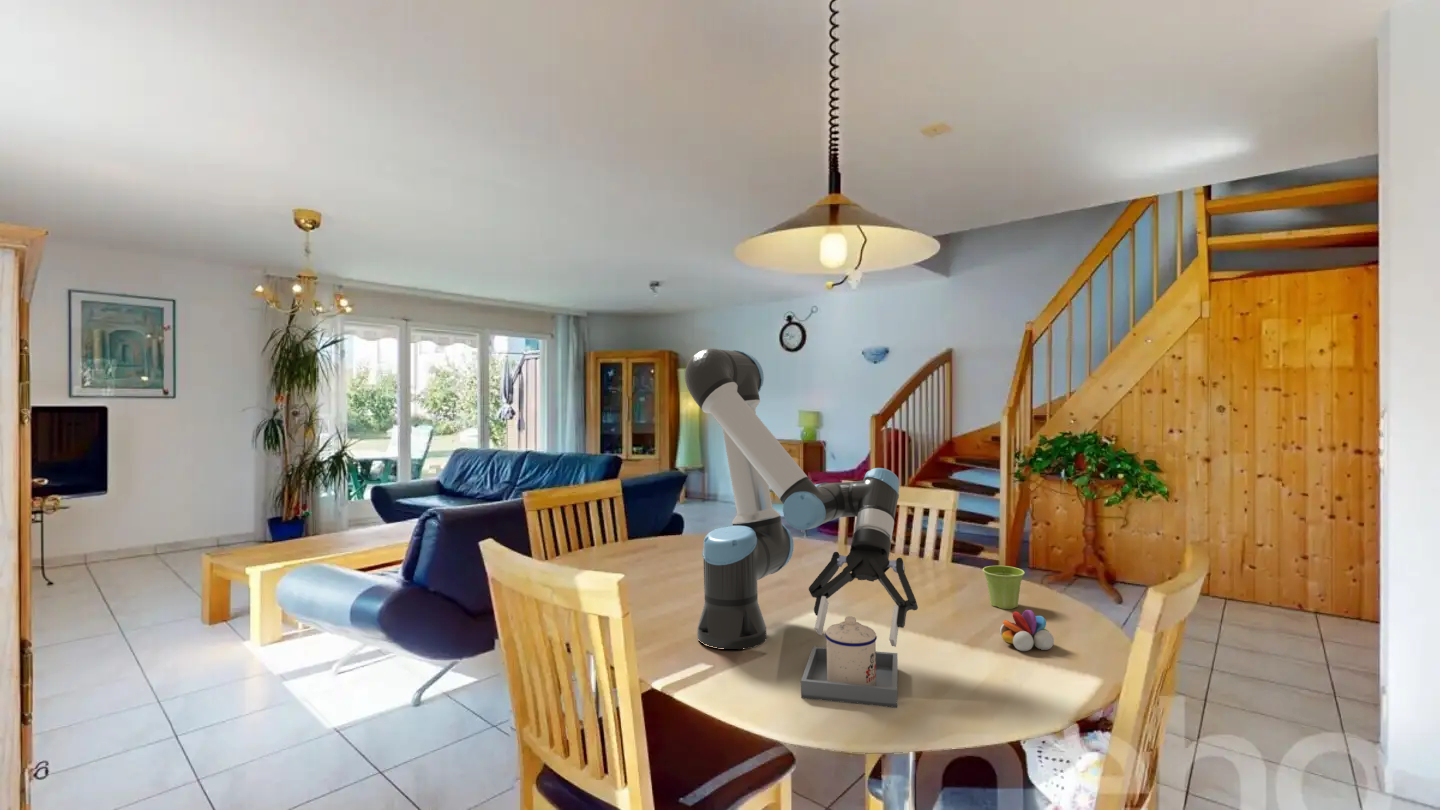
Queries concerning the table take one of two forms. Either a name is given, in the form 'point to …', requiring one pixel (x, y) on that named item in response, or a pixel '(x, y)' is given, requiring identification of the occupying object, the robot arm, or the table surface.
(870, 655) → the teacup with lid
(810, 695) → the tray
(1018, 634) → the rainbow segmented toy
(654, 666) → the table surface
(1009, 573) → the plant pot
